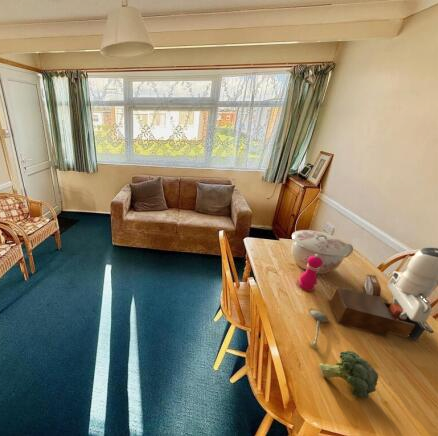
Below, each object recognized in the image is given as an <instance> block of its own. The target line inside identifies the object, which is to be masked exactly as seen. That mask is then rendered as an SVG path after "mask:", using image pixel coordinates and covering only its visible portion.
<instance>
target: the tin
mask: <svg viewBox="0 0 438 436" xmlns="http://www.w3.org/2000/svg"><path fill="white" fill-rule="evenodd" d="M363 284H364V285H363V286H364V290H365V293H366V294H370V295H374V296H379V297H381V294H382V287H381V284H380V282H379V280H378V277H377V275H375V274H374V275H373V274H367V275H366V277H365V280H364V283H363Z"/></svg>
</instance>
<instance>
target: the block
mask: <svg viewBox="0 0 438 436" xmlns="http://www.w3.org/2000/svg"><path fill="white" fill-rule="evenodd" d="M389 311H390V313H391V314H392V316H393V317H394V318H396V319H397V320H398V319H401V320H406V319H402V318H400V317H399V315H398V314H399V313H400V312H401V313H403V308H402V307H401V306H400V305H397V304H393V303H392V304H391V306H390V307H389ZM407 317H408V316H407Z"/></svg>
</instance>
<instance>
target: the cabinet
mask: <svg viewBox="0 0 438 436" xmlns="http://www.w3.org/2000/svg"><path fill="white" fill-rule="evenodd" d="M383 301H384V300H383V299H382V297H381V296H380V297H379V296H374V295H370V294H367V293H366V292H362V291H356V290H352V289H348V288H343V287H340V286H336V288H335V290H334V293H333V295H332V297H331V299H330V304H331V307H332V309H333V313H334V315H335V318H336V320H337V323H338V324H340V325H344V326H348V327H351V328H355V329H358V330H361V331H364V332H365V331H366V332H369V333H372V334H376V335H380V336H383V337H386V336H387V334H388V333H389V332H388V331H389V330H390V328H391V327H392V325H393V323H394V322H395V319H394V317H393V316H392V314H391V313H390V311H389V309H388V308H387V306H386V305H385V303H384V302H385V301H384V302H383Z"/></svg>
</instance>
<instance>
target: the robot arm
mask: <svg viewBox="0 0 438 436" xmlns="http://www.w3.org/2000/svg"><path fill="white" fill-rule="evenodd" d="M391 275H392V276H391V277H390V279H389V280H388V283H387V289H388V290H389V292H390V293H391V295H392V297H393V299H392V304H397V305H400V306H401V307H402V308H403V313H401V312H400V313H399V314H398V315H399V317H400V318H402V319H406V318H407V316H408V317H409V318H410V319H411V320H412V321H416V322H420V323H424V322H427V321H428V319H429V317H430V316H431V313H432V309H433V308H432V306H431V302H430V301H429V300H428V299H427V298H430V297H431V295H432V294H433V292H434V291H435V290H436V288H437V287H438V248H437V247H424V248H423V247H422V248H421V249H419V250H417V252H415V254H414V255H413V256H412V258H410V260H409V262H408V263H407V266H406V269H405V270H404V272H402V271H395V270H394V271H393V272H392V274H391Z"/></svg>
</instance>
